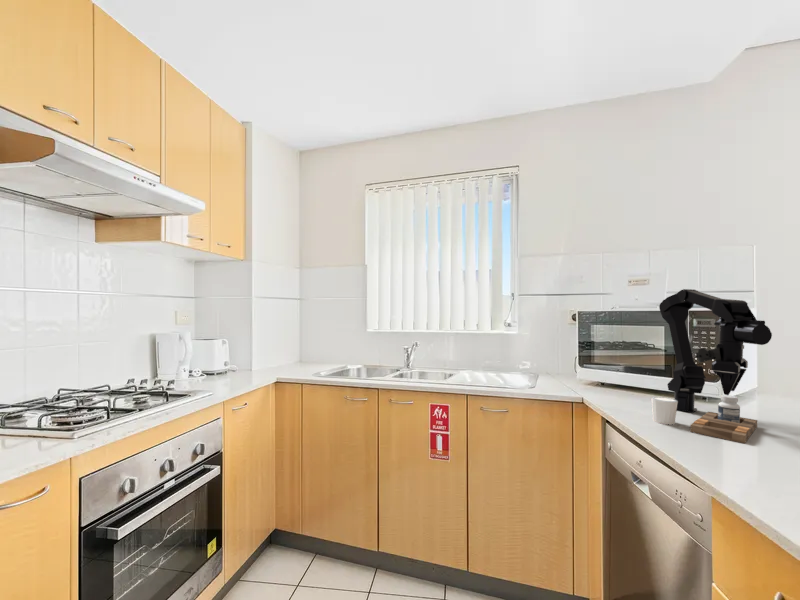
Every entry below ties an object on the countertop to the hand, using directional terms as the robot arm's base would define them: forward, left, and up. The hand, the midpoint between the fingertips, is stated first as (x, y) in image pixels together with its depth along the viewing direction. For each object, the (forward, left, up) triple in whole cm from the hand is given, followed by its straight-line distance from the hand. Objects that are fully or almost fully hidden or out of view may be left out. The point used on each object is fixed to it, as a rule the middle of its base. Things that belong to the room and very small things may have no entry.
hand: (729, 392), depth 127 cm
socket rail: (+6, 0, -10) cm, 12 cm away
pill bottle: (0, 0, -10) cm, 10 cm away
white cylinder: (+12, -14, -10) cm, 21 cm away
